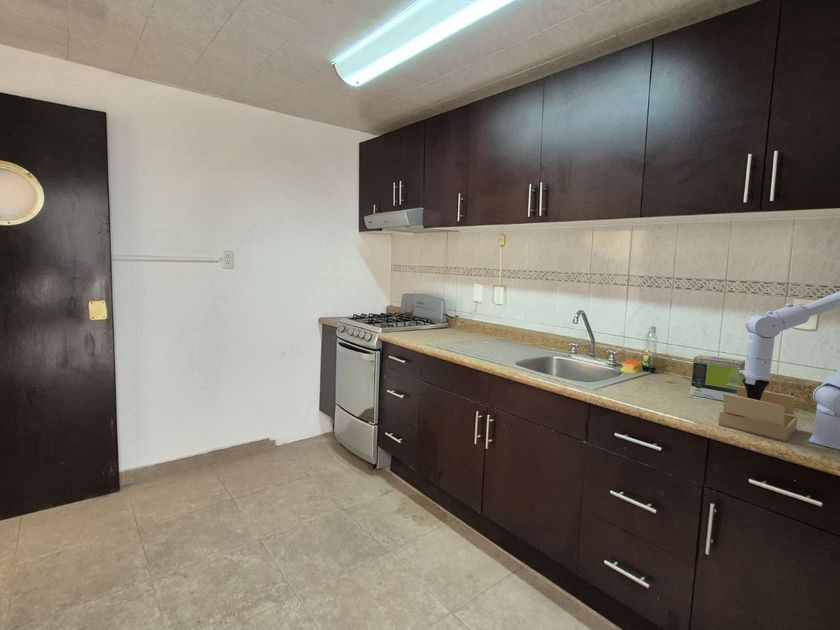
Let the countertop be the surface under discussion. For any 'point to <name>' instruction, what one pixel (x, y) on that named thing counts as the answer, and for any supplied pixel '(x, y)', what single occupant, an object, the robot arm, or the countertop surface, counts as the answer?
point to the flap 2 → (772, 399)
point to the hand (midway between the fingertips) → (753, 404)
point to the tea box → (716, 376)
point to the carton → (760, 426)
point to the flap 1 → (754, 408)
